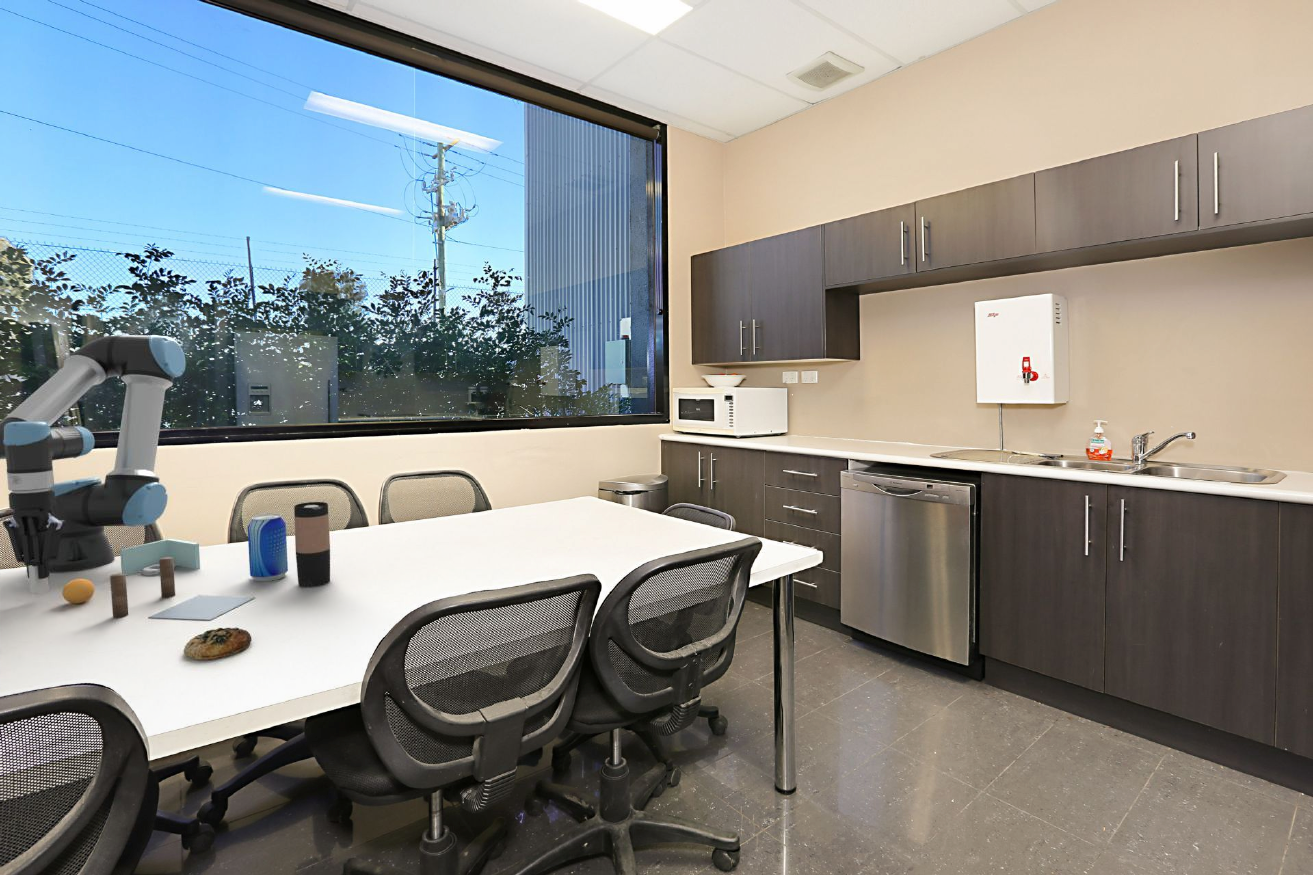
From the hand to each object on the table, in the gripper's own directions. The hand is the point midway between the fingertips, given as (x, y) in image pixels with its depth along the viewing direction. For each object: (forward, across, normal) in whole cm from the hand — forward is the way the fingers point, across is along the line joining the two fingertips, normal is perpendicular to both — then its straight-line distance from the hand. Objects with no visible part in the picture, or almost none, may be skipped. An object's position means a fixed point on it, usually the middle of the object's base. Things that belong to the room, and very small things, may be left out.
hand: (39, 592), depth 148 cm
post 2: (+2, +26, +6) cm, 26 cm away
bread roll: (+3, +58, -20) cm, 62 cm away
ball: (0, +10, 0) cm, 10 cm away
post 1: (+2, +26, -6) cm, 26 cm away
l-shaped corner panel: (+3, +9, +24) cm, 25 cm away
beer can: (+2, +40, +22) cm, 45 cm away
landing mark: (+2, +40, 0) cm, 40 cm away
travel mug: (+2, +54, +19) cm, 57 cm away
